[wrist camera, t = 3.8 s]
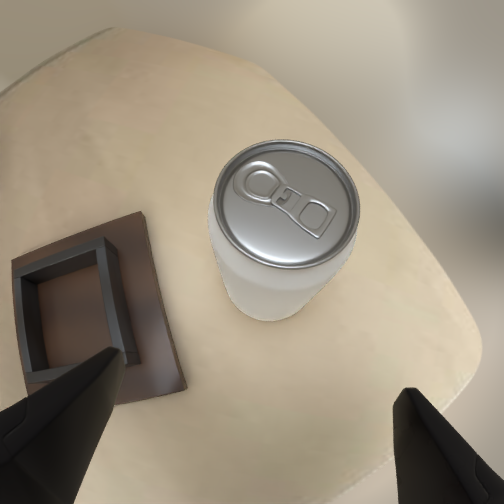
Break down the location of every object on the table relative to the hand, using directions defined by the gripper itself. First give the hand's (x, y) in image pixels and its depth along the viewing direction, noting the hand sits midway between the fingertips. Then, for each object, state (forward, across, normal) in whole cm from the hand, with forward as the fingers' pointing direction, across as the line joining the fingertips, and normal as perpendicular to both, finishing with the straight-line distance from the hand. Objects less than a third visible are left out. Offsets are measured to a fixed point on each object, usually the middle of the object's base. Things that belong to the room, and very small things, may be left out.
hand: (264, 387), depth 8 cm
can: (+14, 0, +4) cm, 14 cm away
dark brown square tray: (+10, +14, +8) cm, 19 cm away
